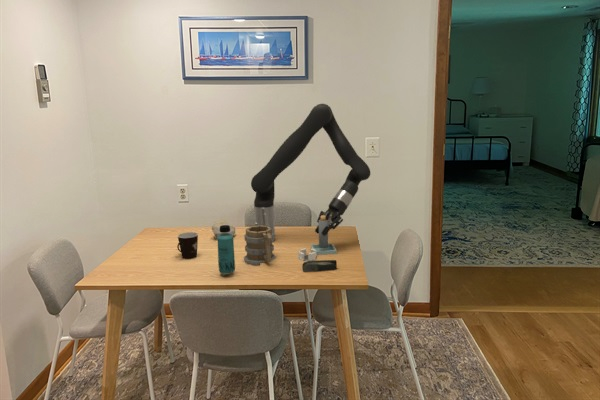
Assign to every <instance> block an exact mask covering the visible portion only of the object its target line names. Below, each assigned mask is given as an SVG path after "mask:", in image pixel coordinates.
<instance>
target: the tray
mask: <svg viewBox="0 0 600 400" xmlns="http://www.w3.org/2000/svg"><path fill="white" fill-rule="evenodd" d="M310 249H315V250H317V256H322V255H323V256H325V255H326V256H327V255H337V254H338V253H337V251H338V250H337V248H336V246H335V245H334V243H328V247H327V248H320V247H319V243H316V244H310Z"/></svg>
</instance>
